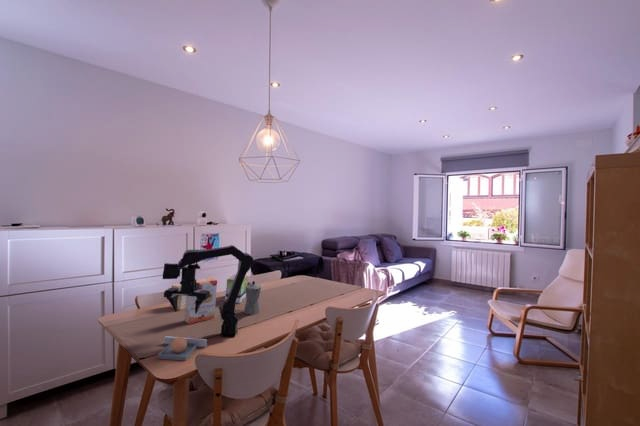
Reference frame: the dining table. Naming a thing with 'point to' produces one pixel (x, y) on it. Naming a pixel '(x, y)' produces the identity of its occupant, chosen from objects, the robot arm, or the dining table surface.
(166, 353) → the grey square tray
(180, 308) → the supplement box
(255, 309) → the coffeepot
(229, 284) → the tea box
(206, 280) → the cracker box
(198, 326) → the dining table surface
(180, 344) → the ball
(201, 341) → the wall
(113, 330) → the dining table surface
